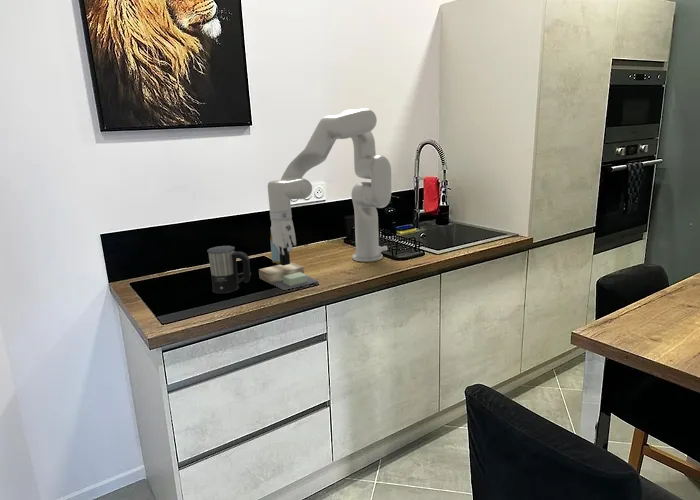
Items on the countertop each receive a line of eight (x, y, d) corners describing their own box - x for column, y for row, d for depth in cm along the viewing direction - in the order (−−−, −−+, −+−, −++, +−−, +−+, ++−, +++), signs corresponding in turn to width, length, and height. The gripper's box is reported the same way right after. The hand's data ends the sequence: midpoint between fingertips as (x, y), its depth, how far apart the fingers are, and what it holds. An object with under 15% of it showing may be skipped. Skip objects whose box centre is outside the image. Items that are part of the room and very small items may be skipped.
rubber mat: (304, 276, 180) (304, 275, 180) (318, 282, 173) (318, 281, 172) (271, 284, 172) (270, 283, 172) (284, 290, 165) (284, 289, 165)
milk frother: (211, 295, 163) (206, 253, 159) (212, 281, 178) (207, 242, 174) (254, 290, 166) (250, 249, 163) (251, 277, 181) (247, 239, 177)
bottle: (269, 263, 198) (266, 228, 194) (277, 259, 204) (275, 224, 201) (283, 265, 195) (281, 229, 192) (292, 260, 202) (289, 225, 198)
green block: (307, 275, 172) (307, 281, 172) (299, 272, 175) (300, 278, 176) (290, 279, 168) (290, 286, 168) (282, 276, 171) (283, 282, 172)
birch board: (292, 270, 187) (291, 262, 187) (304, 275, 180) (303, 266, 180) (259, 278, 180) (258, 269, 179) (270, 284, 172) (269, 274, 172)
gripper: (300, 216, 168) (304, 266, 173) (280, 211, 180) (284, 258, 185) (281, 219, 164) (286, 271, 169) (262, 214, 176) (266, 262, 181)
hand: (285, 264), depth 177 cm, fingers closed
